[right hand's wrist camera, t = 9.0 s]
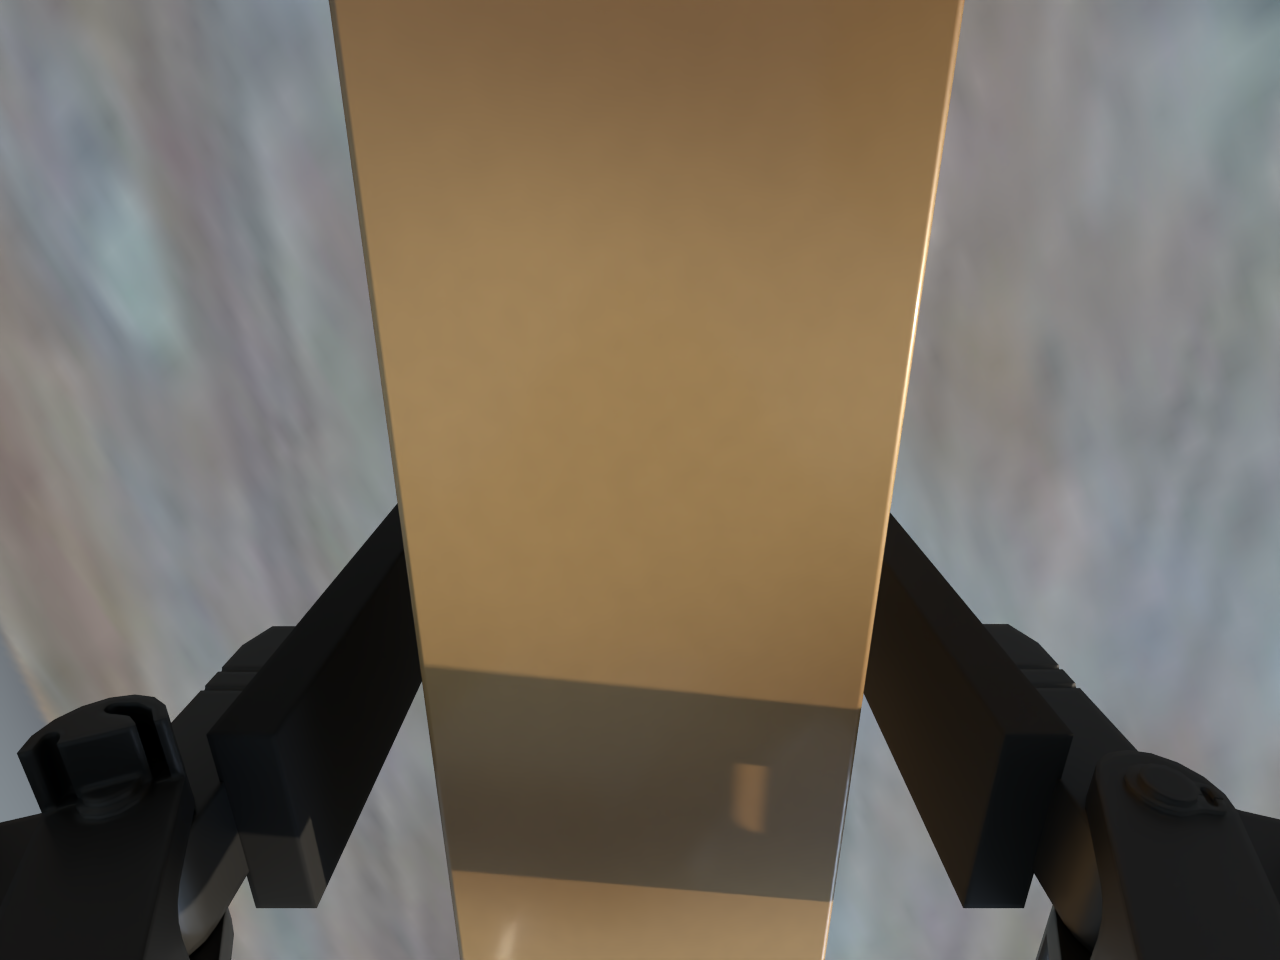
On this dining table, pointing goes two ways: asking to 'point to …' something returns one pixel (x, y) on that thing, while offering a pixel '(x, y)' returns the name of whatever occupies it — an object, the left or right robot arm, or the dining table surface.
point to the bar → (644, 436)
